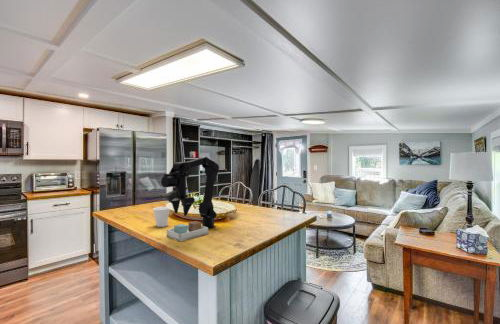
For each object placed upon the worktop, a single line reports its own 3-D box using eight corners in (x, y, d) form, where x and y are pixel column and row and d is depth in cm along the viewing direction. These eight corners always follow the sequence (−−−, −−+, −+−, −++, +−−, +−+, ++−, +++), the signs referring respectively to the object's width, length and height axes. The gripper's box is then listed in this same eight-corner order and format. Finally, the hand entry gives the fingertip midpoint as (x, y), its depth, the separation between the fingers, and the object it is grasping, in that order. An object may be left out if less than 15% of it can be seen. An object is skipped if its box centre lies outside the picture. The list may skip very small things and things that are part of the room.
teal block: (174, 235, 135) (174, 225, 135) (182, 233, 139) (182, 224, 139) (178, 237, 132) (178, 227, 132) (187, 234, 136) (187, 225, 135)
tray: (195, 229, 150) (195, 223, 150) (208, 233, 141) (208, 227, 141) (166, 236, 137) (166, 229, 137) (179, 241, 128) (179, 234, 128)
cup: (164, 228, 152) (164, 210, 151) (149, 227, 154) (149, 209, 153) (172, 224, 161) (172, 207, 161) (158, 223, 163) (158, 206, 163)
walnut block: (188, 231, 142) (188, 222, 142) (195, 229, 146) (195, 220, 146) (193, 233, 139) (193, 224, 138) (201, 231, 142) (201, 222, 142)
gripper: (157, 185, 136) (158, 214, 136) (175, 188, 123) (176, 220, 123) (176, 183, 144) (176, 211, 144) (195, 186, 131) (195, 216, 131)
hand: (180, 214), depth 135 cm, fingers open, 9 cm apart
